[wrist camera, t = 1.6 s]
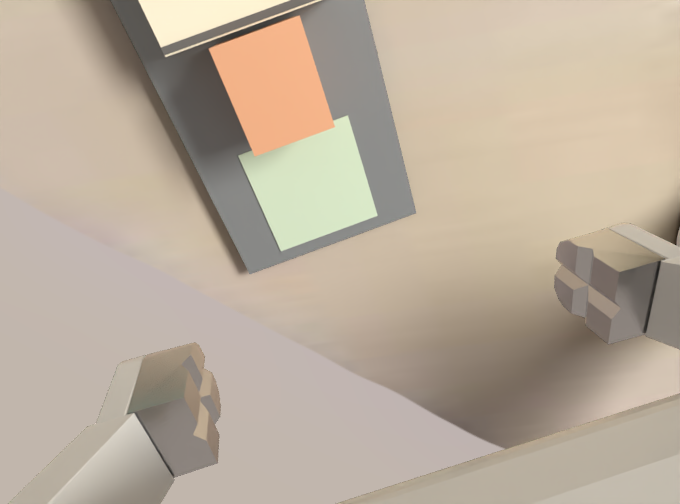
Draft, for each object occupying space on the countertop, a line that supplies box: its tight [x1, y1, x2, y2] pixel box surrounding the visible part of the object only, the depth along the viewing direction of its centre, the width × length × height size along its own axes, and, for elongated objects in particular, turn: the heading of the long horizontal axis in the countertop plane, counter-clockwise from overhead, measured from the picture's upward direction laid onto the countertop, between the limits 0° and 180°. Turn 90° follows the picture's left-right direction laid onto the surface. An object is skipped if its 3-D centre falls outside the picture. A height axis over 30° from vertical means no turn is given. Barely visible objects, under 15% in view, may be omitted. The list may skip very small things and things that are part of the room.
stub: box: [209, 15, 335, 156], centre depth 26 cm, size 5×6×4 cm
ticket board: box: [110, 0, 416, 274], centre depth 25 cm, size 14×32×4 cm, turn 18°
